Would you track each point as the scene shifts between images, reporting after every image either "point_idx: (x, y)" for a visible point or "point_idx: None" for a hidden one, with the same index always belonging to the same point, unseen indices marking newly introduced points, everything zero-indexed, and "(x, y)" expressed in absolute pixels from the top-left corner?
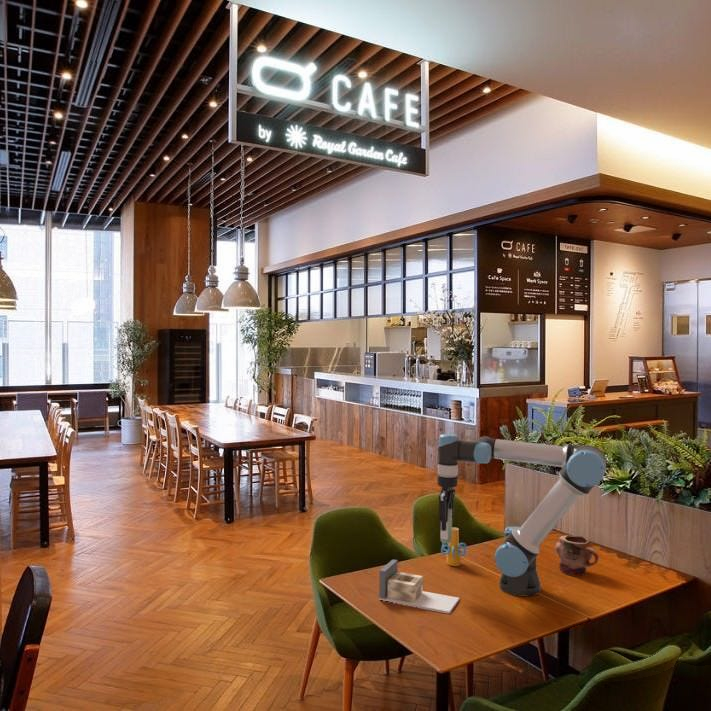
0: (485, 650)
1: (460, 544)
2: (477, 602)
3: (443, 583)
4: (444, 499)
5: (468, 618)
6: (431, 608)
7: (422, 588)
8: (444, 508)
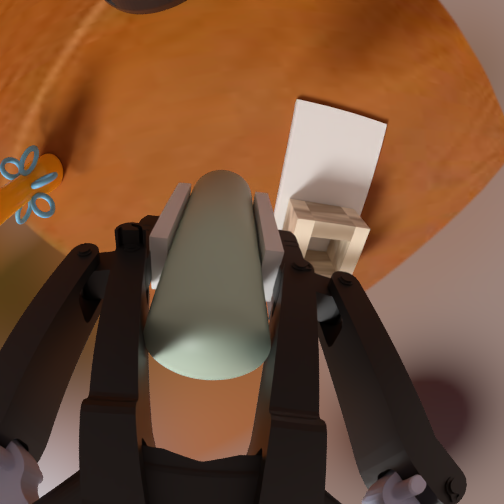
0: (487, 79)
1: (9, 175)
2: (298, 52)
3: (186, 157)
4: (449, 465)
5: (396, 82)
6: (375, 165)
7: (291, 203)
8: (400, 378)
